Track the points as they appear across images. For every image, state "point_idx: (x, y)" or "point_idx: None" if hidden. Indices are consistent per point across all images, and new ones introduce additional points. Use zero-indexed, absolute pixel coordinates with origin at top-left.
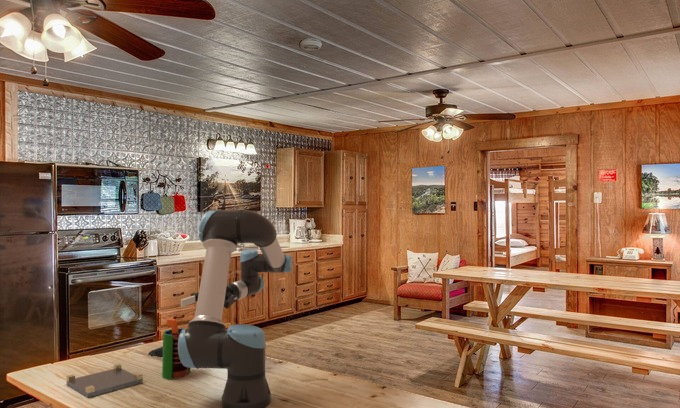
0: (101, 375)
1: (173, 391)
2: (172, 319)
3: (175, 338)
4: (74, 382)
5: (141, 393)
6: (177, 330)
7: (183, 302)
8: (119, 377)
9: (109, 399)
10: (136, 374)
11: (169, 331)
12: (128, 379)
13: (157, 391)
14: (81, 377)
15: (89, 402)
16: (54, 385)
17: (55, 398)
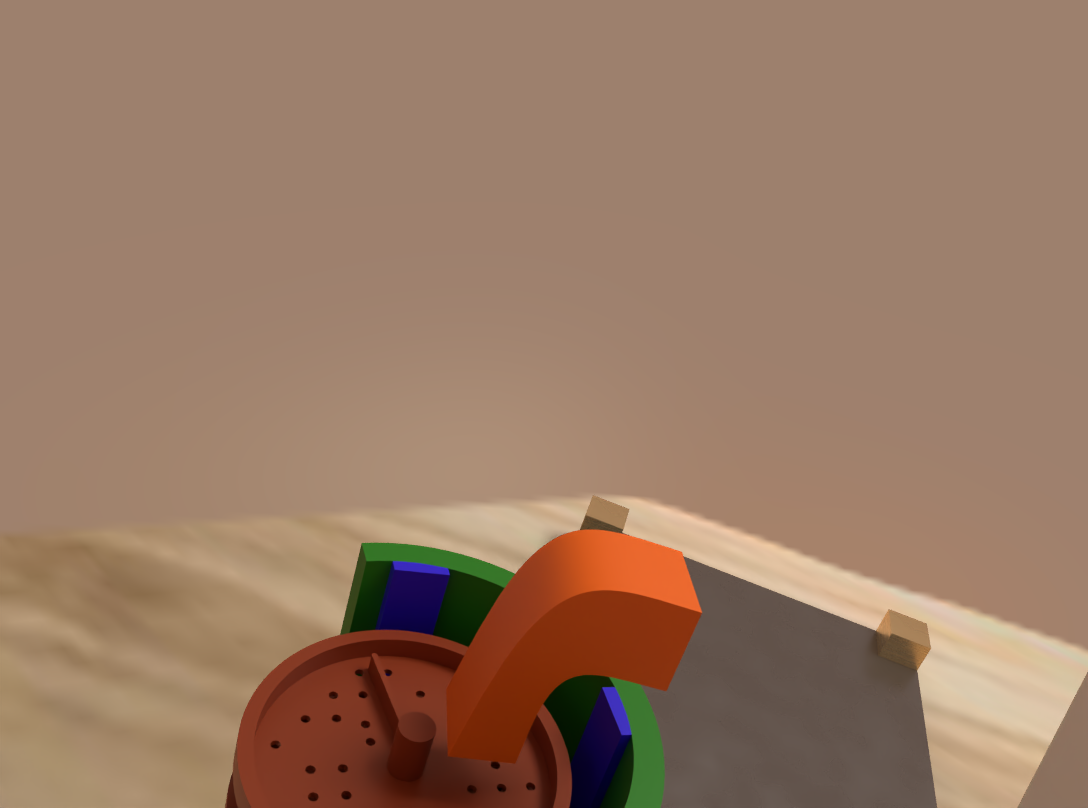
0: (845, 755)
1: (66, 692)
2: (601, 554)
3: (344, 640)
4: (834, 625)
5: (315, 627)
6: (460, 717)
7: (1076, 790)
8: (685, 747)
9: (443, 538)
10: None
11: (625, 766)
12: None
13: (214, 672)
14: (906, 698)
15: (511, 503)
16: (940, 650)
17: (720, 525)
